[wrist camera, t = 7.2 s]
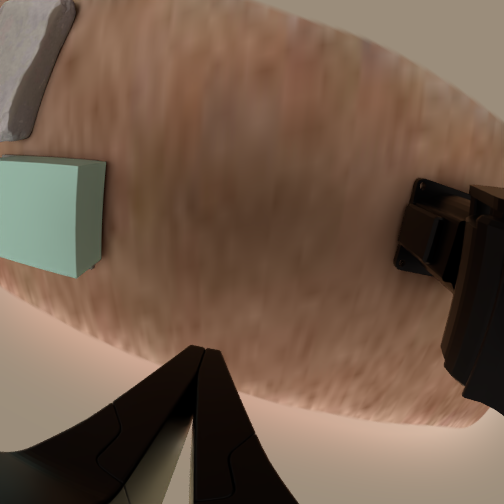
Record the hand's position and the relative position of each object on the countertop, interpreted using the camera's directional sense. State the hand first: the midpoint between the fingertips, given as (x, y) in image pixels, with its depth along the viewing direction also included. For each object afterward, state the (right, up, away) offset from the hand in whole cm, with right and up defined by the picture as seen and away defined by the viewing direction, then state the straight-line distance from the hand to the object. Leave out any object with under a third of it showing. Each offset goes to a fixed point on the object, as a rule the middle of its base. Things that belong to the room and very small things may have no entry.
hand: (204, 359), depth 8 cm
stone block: (-18, +18, +9) cm, 27 cm away
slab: (-9, +5, +10) cm, 14 cm away
